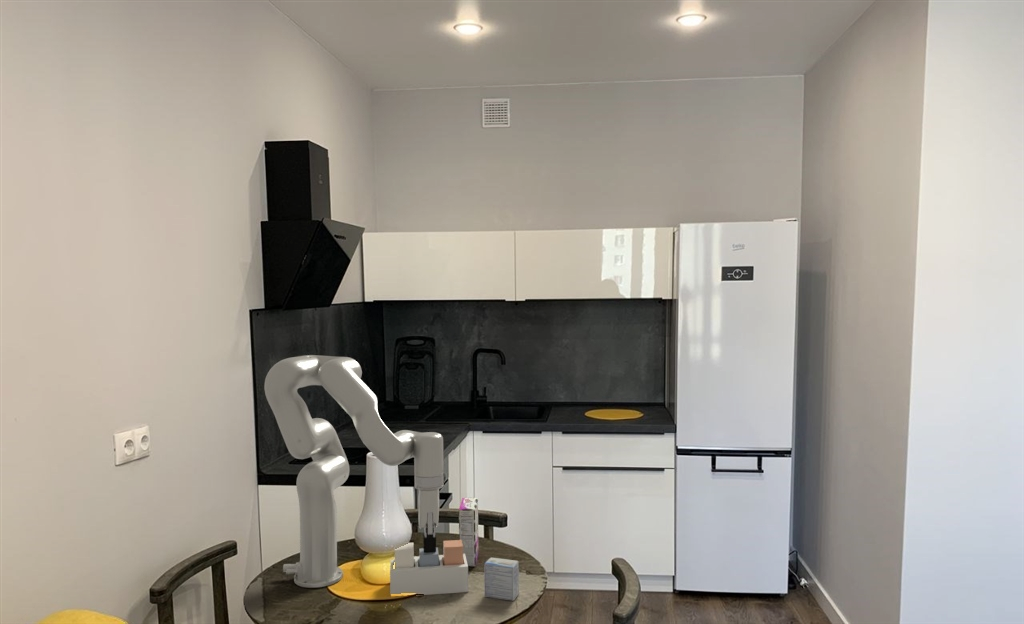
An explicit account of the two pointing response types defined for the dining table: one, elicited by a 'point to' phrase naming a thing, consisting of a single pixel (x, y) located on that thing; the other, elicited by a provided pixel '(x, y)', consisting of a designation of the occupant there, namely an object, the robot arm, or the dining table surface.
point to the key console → (429, 578)
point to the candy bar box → (469, 529)
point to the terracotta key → (452, 552)
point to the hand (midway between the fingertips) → (429, 551)
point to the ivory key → (404, 556)
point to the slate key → (428, 558)
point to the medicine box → (501, 578)
